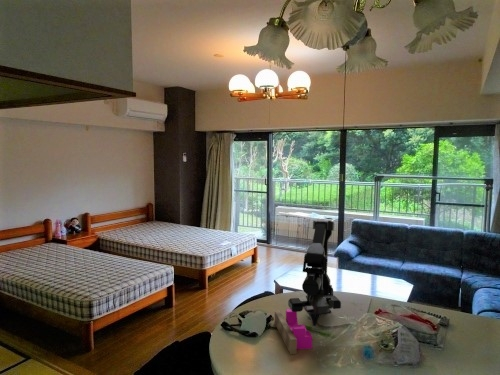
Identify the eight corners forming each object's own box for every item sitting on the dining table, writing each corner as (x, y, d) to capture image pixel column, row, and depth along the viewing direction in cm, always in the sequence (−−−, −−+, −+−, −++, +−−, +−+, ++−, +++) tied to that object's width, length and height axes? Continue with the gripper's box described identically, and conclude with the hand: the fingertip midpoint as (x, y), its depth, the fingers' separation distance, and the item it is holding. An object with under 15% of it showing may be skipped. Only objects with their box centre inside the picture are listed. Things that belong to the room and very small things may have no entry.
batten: (274, 322, 134) (274, 310, 134) (279, 322, 135) (279, 310, 134) (290, 354, 113) (290, 339, 112) (296, 353, 113) (296, 339, 113)
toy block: (311, 348, 116) (312, 328, 116) (294, 349, 116) (294, 328, 115) (301, 327, 131) (301, 308, 131) (285, 328, 131) (286, 309, 130)
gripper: (296, 295, 115) (296, 339, 116) (348, 291, 118) (347, 334, 119) (288, 283, 126) (287, 323, 127) (335, 280, 129) (334, 319, 130)
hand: (314, 325), depth 126 cm, fingers closed
